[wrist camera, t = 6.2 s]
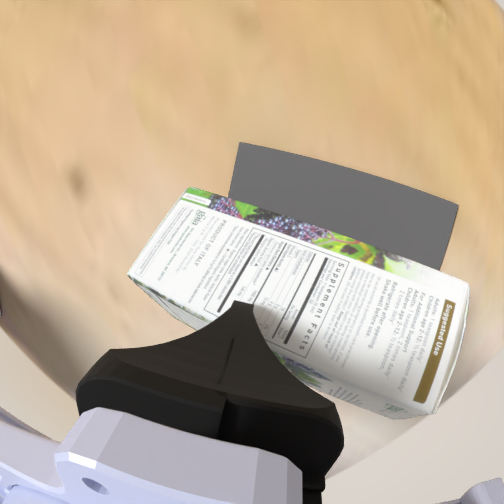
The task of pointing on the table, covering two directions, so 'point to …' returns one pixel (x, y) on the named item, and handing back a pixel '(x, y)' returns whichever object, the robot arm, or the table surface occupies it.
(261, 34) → the table surface
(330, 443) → the robot arm
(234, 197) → the rubber mat
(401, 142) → the table surface
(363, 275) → the syrup box
